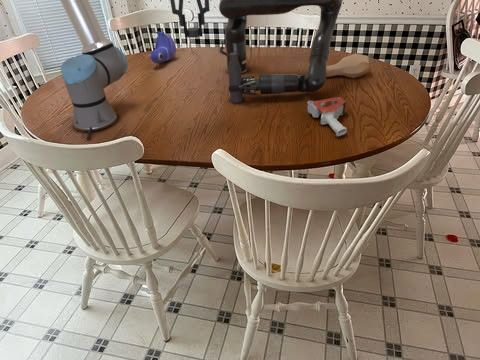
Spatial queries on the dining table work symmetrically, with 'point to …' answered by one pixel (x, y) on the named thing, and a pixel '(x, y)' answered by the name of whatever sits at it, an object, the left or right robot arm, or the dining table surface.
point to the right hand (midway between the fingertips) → (229, 86)
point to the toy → (163, 48)
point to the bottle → (235, 77)
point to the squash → (350, 66)
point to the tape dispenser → (329, 113)
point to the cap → (193, 32)
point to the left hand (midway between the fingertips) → (193, 36)
